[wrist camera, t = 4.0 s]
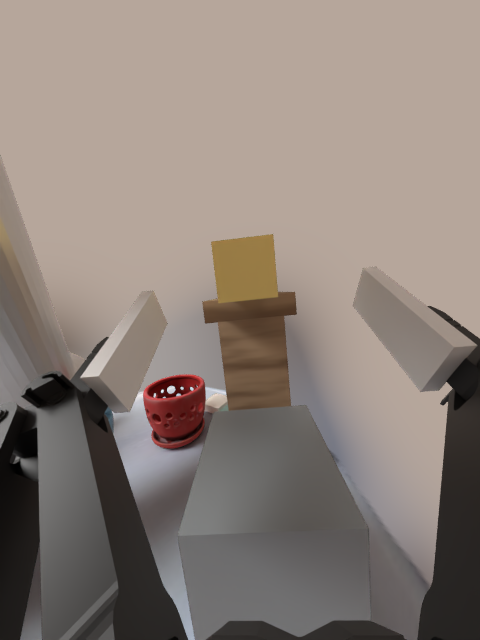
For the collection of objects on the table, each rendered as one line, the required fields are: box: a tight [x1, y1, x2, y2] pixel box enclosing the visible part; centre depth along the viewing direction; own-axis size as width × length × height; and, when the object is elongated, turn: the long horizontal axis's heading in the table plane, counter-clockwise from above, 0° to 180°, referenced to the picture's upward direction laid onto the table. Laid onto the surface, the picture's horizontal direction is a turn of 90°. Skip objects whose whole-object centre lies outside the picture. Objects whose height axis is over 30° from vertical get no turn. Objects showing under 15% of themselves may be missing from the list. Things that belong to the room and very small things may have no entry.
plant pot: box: [143, 375, 206, 449], centre depth 46 cm, size 13×13×12 cm
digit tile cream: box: [204, 393, 228, 414], centre depth 57 cm, size 6×6×2 cm
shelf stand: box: [203, 292, 297, 411], centre depth 32 cm, size 17×10×30 cm, turn 178°
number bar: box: [211, 234, 278, 303], centre depth 24 cm, size 22×4×4 cm, turn 178°
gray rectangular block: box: [177, 405, 371, 640], centre depth 18 cm, size 12×10×18 cm
